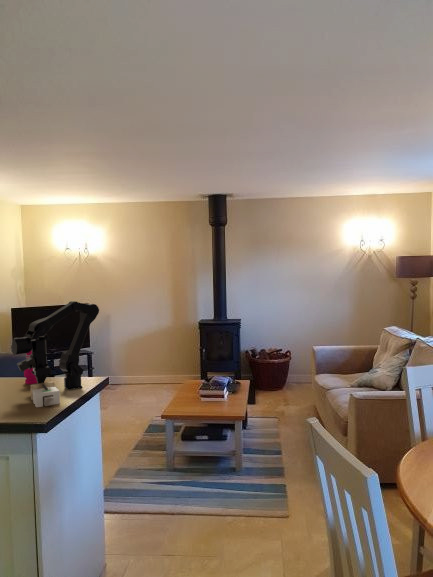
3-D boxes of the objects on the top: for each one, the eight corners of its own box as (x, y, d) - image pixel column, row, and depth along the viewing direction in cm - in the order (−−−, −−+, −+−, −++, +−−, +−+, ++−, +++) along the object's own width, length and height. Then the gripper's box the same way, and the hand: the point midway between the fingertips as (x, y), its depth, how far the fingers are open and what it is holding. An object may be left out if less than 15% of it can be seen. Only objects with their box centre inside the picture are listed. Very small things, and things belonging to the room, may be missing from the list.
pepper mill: (44, 381, 203) (42, 340, 203) (32, 385, 196) (31, 342, 196) (32, 380, 205) (30, 339, 205) (20, 384, 199) (19, 341, 198)
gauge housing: (55, 398, 172) (55, 386, 172) (59, 403, 165) (59, 390, 165) (33, 402, 168) (32, 389, 167) (36, 407, 161) (35, 394, 161)
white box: (54, 395, 176) (53, 381, 176) (62, 404, 163) (61, 389, 163) (31, 399, 171) (30, 384, 171) (37, 408, 158) (36, 392, 158)
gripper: (14, 350, 181) (16, 386, 182) (21, 357, 166) (23, 396, 166) (42, 347, 187) (43, 382, 188) (51, 353, 172) (52, 391, 172)
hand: (40, 388), depth 178 cm, fingers closed
